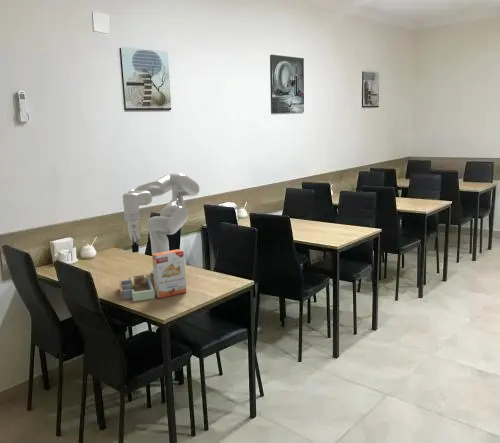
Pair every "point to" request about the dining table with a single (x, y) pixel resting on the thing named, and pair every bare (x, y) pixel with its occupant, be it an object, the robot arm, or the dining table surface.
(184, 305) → the dining table surface
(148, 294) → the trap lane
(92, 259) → the dining table surface
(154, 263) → the cracker box
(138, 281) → the walnut block
